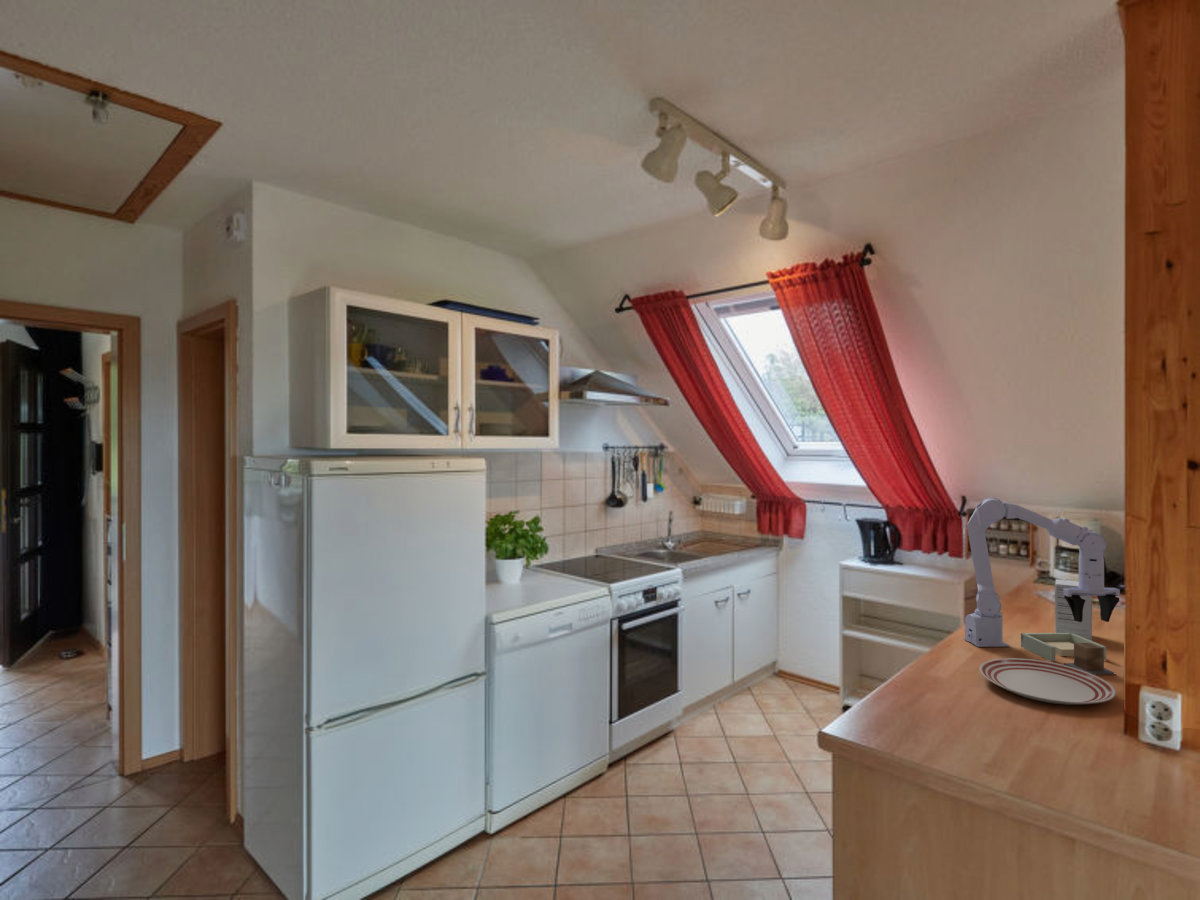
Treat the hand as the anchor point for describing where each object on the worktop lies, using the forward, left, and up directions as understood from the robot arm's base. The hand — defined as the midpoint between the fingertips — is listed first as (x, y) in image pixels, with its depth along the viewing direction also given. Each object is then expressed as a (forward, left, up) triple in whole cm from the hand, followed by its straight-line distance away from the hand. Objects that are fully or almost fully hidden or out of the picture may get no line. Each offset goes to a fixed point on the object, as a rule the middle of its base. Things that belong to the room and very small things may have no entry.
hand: (1091, 621), depth 179 cm
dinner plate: (-30, -24, -10) cm, 40 cm away
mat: (-9, -11, -10) cm, 17 cm away
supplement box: (+8, +18, -10) cm, 22 cm away
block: (-9, -11, -10) cm, 17 cm away
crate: (-7, +2, -10) cm, 12 cm away
